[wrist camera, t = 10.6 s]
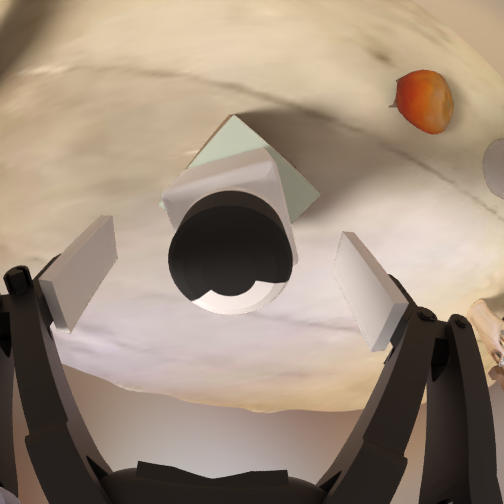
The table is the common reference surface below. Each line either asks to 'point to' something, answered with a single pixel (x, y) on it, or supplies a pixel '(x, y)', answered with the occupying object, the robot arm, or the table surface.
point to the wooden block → (497, 375)
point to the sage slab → (245, 139)
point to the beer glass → (488, 329)
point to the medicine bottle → (230, 233)
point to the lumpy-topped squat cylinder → (495, 167)
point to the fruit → (424, 100)
